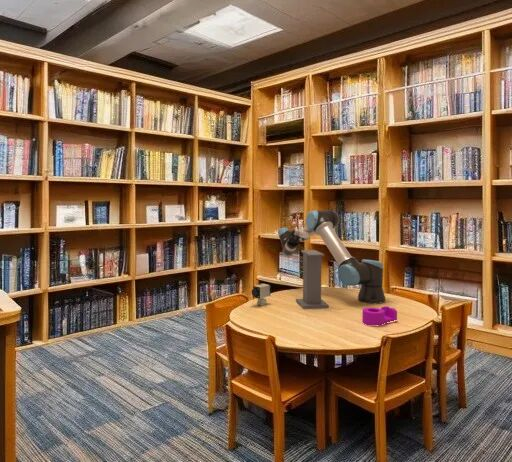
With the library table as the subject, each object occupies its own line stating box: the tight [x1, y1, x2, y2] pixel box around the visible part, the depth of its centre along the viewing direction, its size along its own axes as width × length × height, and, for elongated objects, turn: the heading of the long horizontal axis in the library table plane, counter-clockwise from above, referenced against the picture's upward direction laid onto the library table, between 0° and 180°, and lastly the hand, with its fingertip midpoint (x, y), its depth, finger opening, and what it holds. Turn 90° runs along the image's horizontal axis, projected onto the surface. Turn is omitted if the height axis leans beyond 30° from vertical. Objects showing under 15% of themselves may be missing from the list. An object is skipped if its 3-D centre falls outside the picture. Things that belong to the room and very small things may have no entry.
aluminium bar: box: [296, 229, 309, 239], centre depth 250 cm, size 22×3×3 cm, turn 8°
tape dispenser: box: [361, 305, 398, 326], centre depth 197 cm, size 16×10×6 cm, turn 118°
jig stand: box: [295, 249, 330, 310], centre depth 227 cm, size 18×14×29 cm
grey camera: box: [251, 283, 273, 307], centre depth 228 cm, size 6×12×12 cm, turn 135°
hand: (299, 228), depth 253 cm, fingers closed on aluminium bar, 3 cm apart
